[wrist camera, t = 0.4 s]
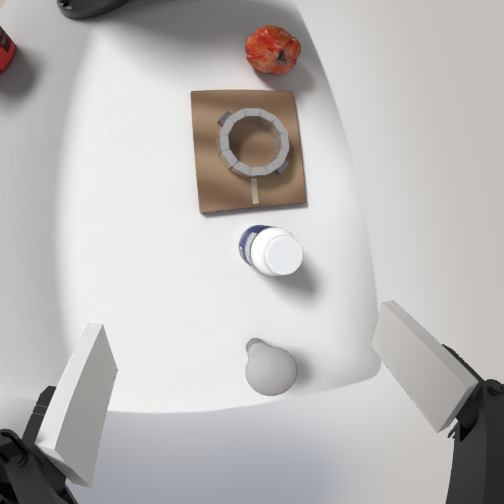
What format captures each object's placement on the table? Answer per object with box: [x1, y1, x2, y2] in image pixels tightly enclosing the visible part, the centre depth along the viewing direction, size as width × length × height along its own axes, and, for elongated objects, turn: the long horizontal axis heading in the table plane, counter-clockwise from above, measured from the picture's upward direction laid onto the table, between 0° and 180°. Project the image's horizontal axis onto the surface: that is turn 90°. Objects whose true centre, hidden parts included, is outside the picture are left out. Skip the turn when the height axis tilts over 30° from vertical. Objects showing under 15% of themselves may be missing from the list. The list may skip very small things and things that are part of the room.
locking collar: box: [216, 108, 289, 178], centre depth 33 cm, size 8×8×2 cm
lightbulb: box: [246, 338, 297, 396], centre depth 34 cm, size 6×6×11 cm
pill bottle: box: [238, 225, 303, 276], centre depth 33 cm, size 5×5×10 cm
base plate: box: [191, 90, 306, 213], centre depth 35 cm, size 16×14×1 cm
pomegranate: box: [245, 25, 301, 74], centre depth 31 cm, size 7×7×10 cm
